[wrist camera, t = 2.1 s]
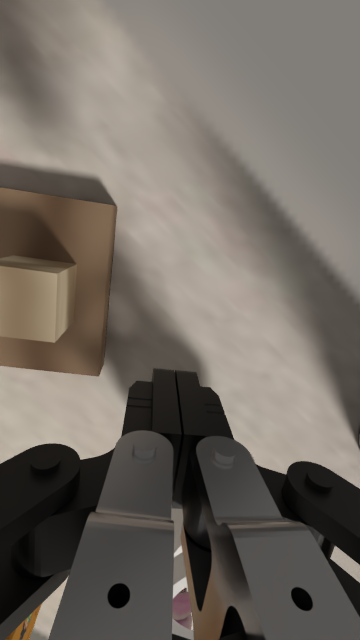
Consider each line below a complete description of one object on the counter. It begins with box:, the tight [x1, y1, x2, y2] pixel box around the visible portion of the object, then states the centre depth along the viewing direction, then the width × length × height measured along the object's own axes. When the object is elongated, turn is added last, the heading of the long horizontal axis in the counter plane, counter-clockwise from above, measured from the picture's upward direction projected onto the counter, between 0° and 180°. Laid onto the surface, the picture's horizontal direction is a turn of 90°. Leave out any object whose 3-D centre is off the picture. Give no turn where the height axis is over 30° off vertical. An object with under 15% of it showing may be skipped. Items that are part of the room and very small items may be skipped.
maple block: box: [0, 255, 77, 343], centre depth 19 cm, size 4×4×4 cm
